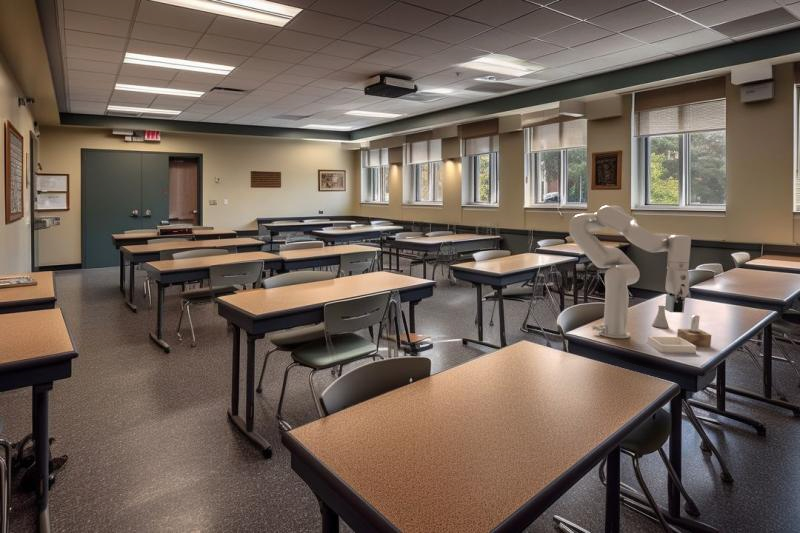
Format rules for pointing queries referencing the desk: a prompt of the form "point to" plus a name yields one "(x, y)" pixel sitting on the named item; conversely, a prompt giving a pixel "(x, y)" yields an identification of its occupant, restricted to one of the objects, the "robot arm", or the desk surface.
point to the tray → (671, 345)
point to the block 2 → (695, 337)
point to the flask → (660, 318)
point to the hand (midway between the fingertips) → (674, 309)
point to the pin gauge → (694, 324)
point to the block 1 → (672, 303)
